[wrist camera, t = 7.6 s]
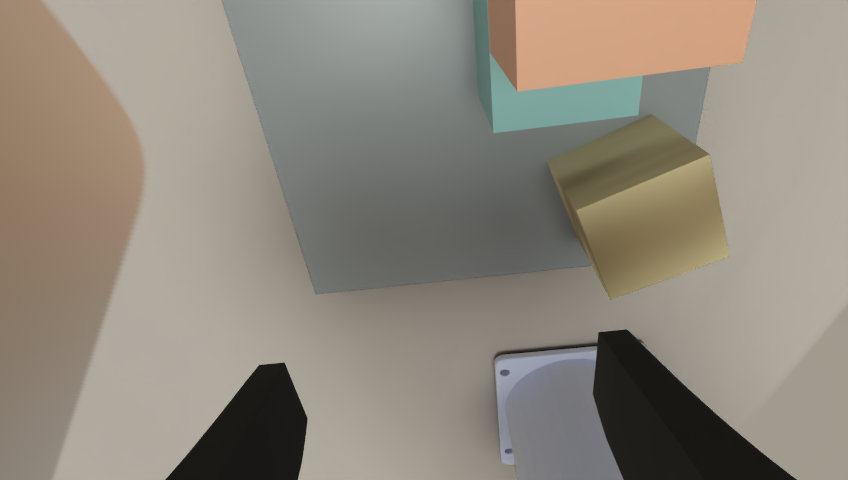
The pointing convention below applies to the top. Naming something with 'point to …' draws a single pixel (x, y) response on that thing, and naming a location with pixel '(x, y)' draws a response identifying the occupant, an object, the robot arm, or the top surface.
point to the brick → (642, 205)
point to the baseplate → (412, 143)
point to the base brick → (545, 93)
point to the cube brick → (613, 38)
